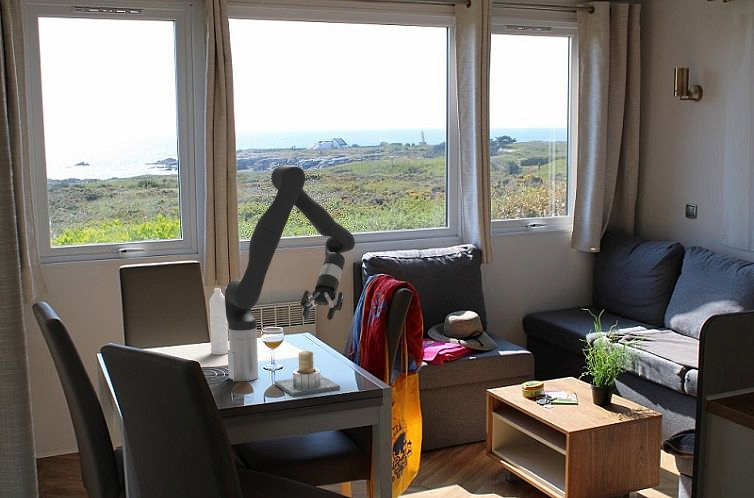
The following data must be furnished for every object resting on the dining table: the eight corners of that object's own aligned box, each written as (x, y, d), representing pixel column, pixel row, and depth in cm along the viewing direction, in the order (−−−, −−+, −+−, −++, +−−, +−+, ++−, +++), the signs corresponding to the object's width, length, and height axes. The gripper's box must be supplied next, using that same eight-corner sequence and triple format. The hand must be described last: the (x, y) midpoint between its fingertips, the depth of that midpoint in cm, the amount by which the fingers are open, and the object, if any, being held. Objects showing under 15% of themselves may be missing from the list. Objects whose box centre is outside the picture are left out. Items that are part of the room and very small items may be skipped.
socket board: (293, 396, 270) (292, 380, 269) (274, 384, 284) (274, 369, 283) (339, 389, 277) (339, 373, 276) (319, 378, 291) (319, 362, 291)
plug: (302, 385, 277) (301, 355, 276) (297, 382, 281) (296, 352, 280) (315, 383, 279) (315, 353, 278) (310, 380, 283) (309, 350, 282)
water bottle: (212, 355, 326) (209, 289, 323) (210, 351, 332) (208, 287, 329) (235, 353, 328) (233, 288, 325) (233, 350, 334) (231, 285, 332)
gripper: (306, 272, 300) (294, 310, 290) (345, 274, 296) (333, 313, 286) (312, 285, 305) (300, 323, 296) (350, 287, 301) (339, 325, 291)
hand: (316, 318), depth 291 cm, fingers open, 8 cm apart
